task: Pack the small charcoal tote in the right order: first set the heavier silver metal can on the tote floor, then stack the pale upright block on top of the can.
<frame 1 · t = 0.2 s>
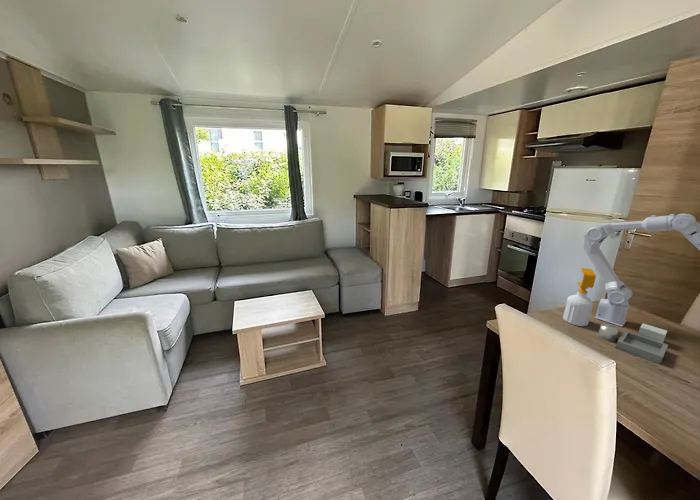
tote: (640, 349, 109), on the table
metal can: (606, 337, 117), on the table
pale upright block: (649, 339, 115), on the table
soap bottle: (575, 321, 129), on the table
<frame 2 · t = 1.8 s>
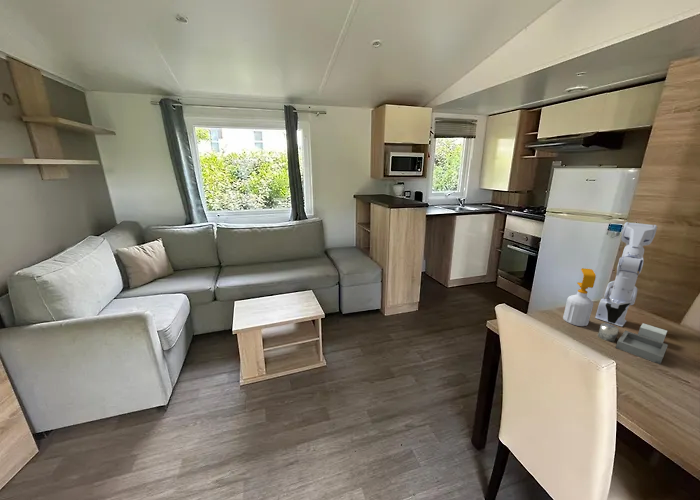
hand: (613, 319, 114), 9 cm above the table, tool pointing down, fingers open, 7 cm apart
nothing on the table moved.
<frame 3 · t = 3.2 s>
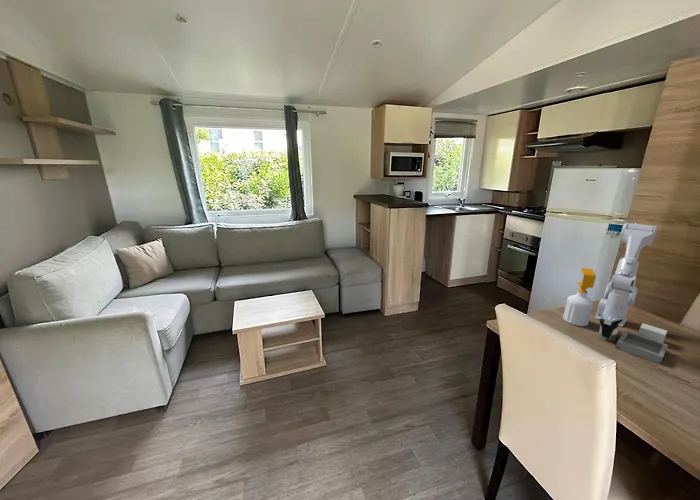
hand: (607, 334, 116), 1 cm above the table, tool pointing down, fingers closed on metal can, 5 cm apart
metal can: (606, 337, 117), on the table, touching gripper
everything else where it was.
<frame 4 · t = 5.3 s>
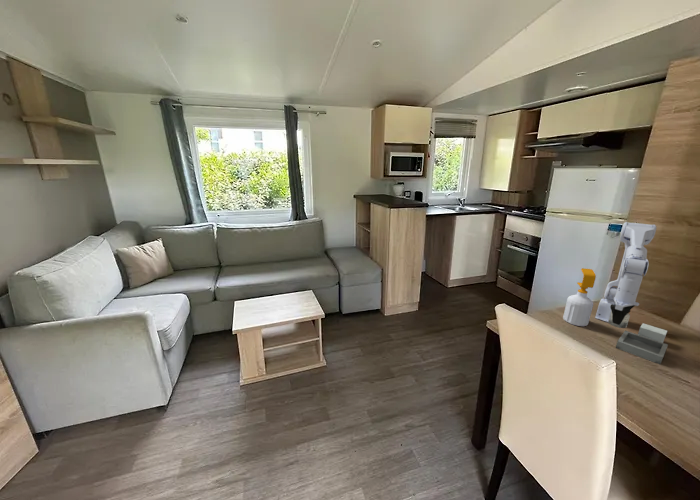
hand: (618, 321, 113), 8 cm above the table, tool pointing down, fingers closed on metal can, 5 cm apart
metal can: (617, 324, 113), point 7 cm above the table, touching gripper
everything else where it was.
when the fingers open (4 cm above the table, at t = 7.4 s): metal can drops 1 cm, resting on tote.
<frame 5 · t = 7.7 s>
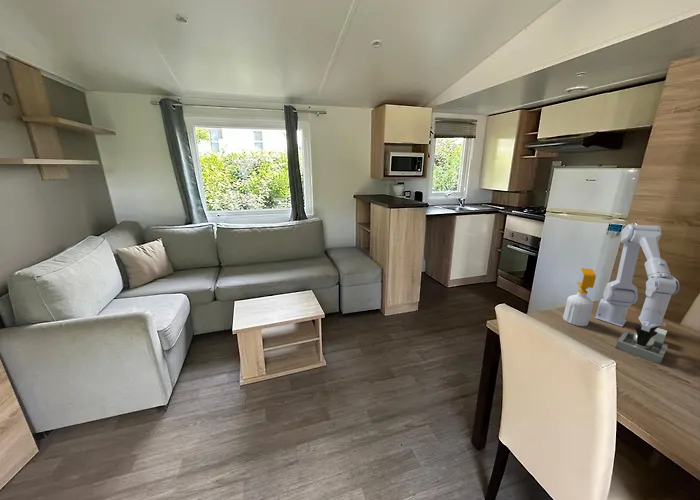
hand: (643, 341, 108), 4 cm above the table, tool pointing down, fingers open, 7 cm apart
metal can: (641, 347, 109), point 1 cm above the table, touching tote
everything else where it was.
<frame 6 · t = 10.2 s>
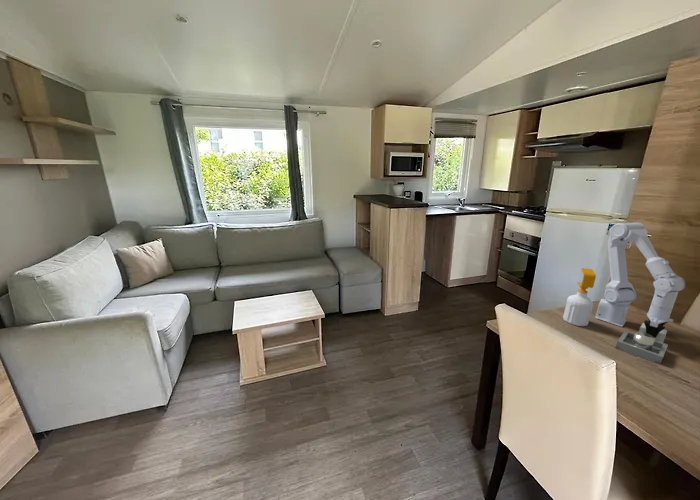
hand: (651, 336, 115), 1 cm above the table, tool pointing down, fingers closed on pale upright block, 5 cm apart
pale upright block: (650, 339, 115), on the table, touching gripper
everything else where it was.
when the fingers open (9 cm above the table, at t = 13.8 s): pale upright block drops 1 cm, resting on metal can.
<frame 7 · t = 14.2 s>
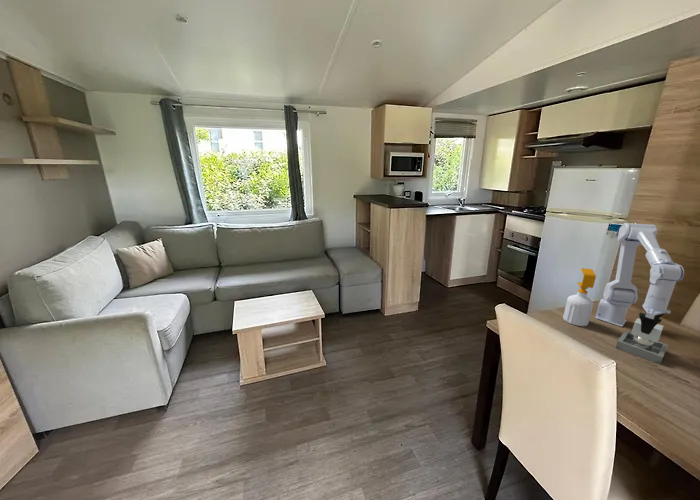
hand: (647, 329, 107), 9 cm above the table, tool pointing down, fingers open, 7 cm apart
metal can: (641, 347, 109), point 1 cm above the table, touching pale upright block, tote
pale upright block: (645, 335, 107), point 6 cm above the table, touching metal can
everything else where it was.
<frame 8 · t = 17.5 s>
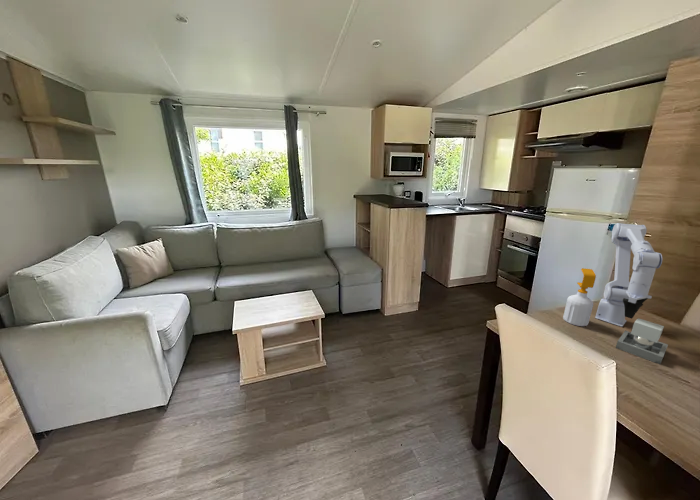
hand: (630, 314, 114), 10 cm above the table, tool pointing down, fingers open, 7 cm apart
nothing on the table moved.
at the end: metal can 0.0 cm off-centre on the tote, point 1.0 cm above the tote's base; pale upright block 0.0 cm off-centre on the metal can, point 5.0 cm above the metal can's base; pale upright block tilted 0° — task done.
